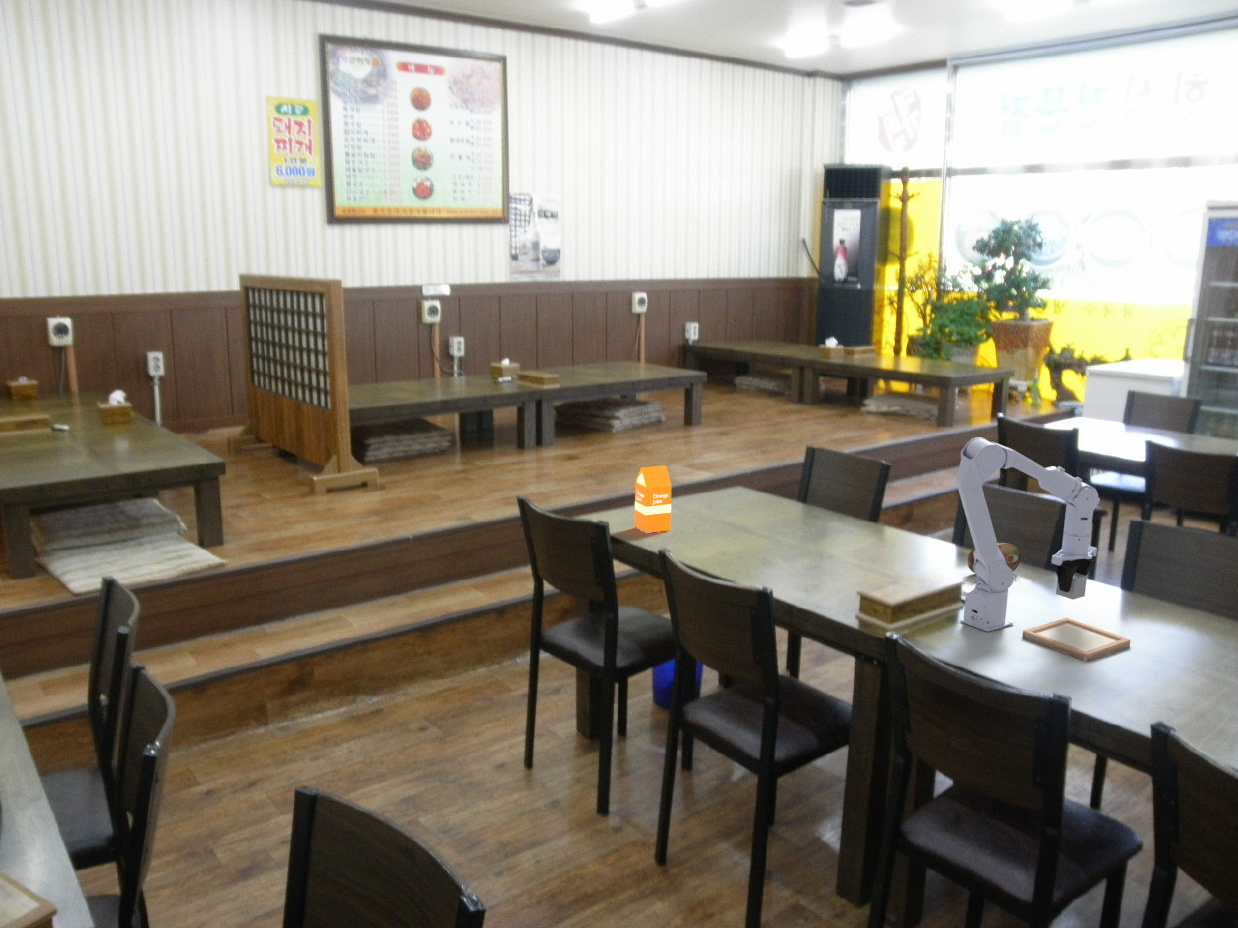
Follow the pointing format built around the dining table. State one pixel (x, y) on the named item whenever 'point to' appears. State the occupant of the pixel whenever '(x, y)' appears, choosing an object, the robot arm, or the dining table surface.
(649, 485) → the orange juice
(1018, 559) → the tin
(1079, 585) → the block
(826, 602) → the dining table surface
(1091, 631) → the picture frame
